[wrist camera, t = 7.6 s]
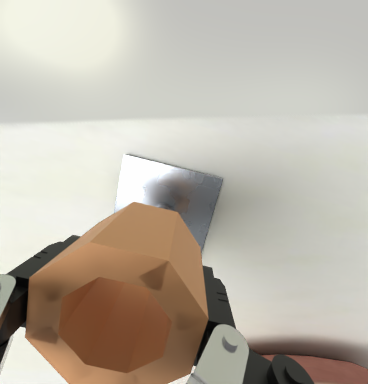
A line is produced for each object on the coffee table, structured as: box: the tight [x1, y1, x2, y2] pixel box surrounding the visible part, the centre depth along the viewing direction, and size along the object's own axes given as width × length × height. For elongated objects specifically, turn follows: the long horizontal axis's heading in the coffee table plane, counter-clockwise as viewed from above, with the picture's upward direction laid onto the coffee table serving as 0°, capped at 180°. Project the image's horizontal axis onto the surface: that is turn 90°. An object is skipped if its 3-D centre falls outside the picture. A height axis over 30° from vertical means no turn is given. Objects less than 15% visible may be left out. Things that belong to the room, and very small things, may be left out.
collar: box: [25, 202, 209, 384], centre depth 9 cm, size 6×6×5 cm
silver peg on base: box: [114, 154, 223, 252], centre depth 17 cm, size 10×10×7 cm
